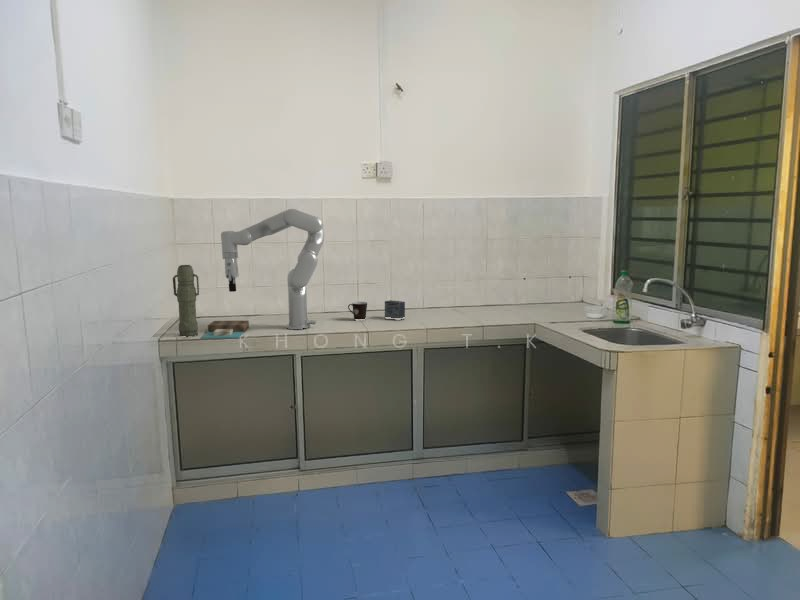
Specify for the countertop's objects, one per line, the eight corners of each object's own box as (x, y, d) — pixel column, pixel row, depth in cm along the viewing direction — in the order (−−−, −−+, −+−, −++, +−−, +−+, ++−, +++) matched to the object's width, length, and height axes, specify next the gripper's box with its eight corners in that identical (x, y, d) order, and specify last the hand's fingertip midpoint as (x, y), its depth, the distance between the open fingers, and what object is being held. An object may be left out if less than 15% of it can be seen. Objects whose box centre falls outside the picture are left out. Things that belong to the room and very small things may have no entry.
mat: (243, 332, 288) (243, 331, 288) (238, 338, 276) (238, 337, 276) (208, 333, 287) (207, 332, 287) (201, 338, 275) (201, 337, 275)
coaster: (229, 331, 279) (230, 335, 279) (232, 329, 285) (232, 332, 285) (213, 331, 279) (213, 335, 279) (216, 329, 285) (216, 333, 285)
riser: (248, 327, 301) (248, 320, 300) (244, 332, 289) (243, 325, 288) (214, 328, 299) (214, 320, 299) (208, 333, 288) (207, 325, 287)
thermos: (176, 333, 285) (172, 264, 280) (201, 332, 289) (197, 264, 283) (175, 337, 277) (171, 266, 271) (200, 336, 281) (197, 265, 275)
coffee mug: (370, 320, 323) (370, 303, 321) (357, 322, 318) (356, 304, 316) (359, 317, 332) (359, 300, 331) (347, 318, 327) (346, 301, 326)
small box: (405, 319, 327) (405, 301, 326) (399, 321, 322) (399, 302, 320) (390, 317, 333) (390, 299, 331) (384, 319, 327) (384, 301, 326)
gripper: (235, 256, 280) (237, 293, 283) (240, 254, 294) (242, 289, 297) (219, 257, 279) (222, 293, 282) (225, 254, 294) (228, 289, 297)
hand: (232, 291), depth 290 cm, fingers closed
